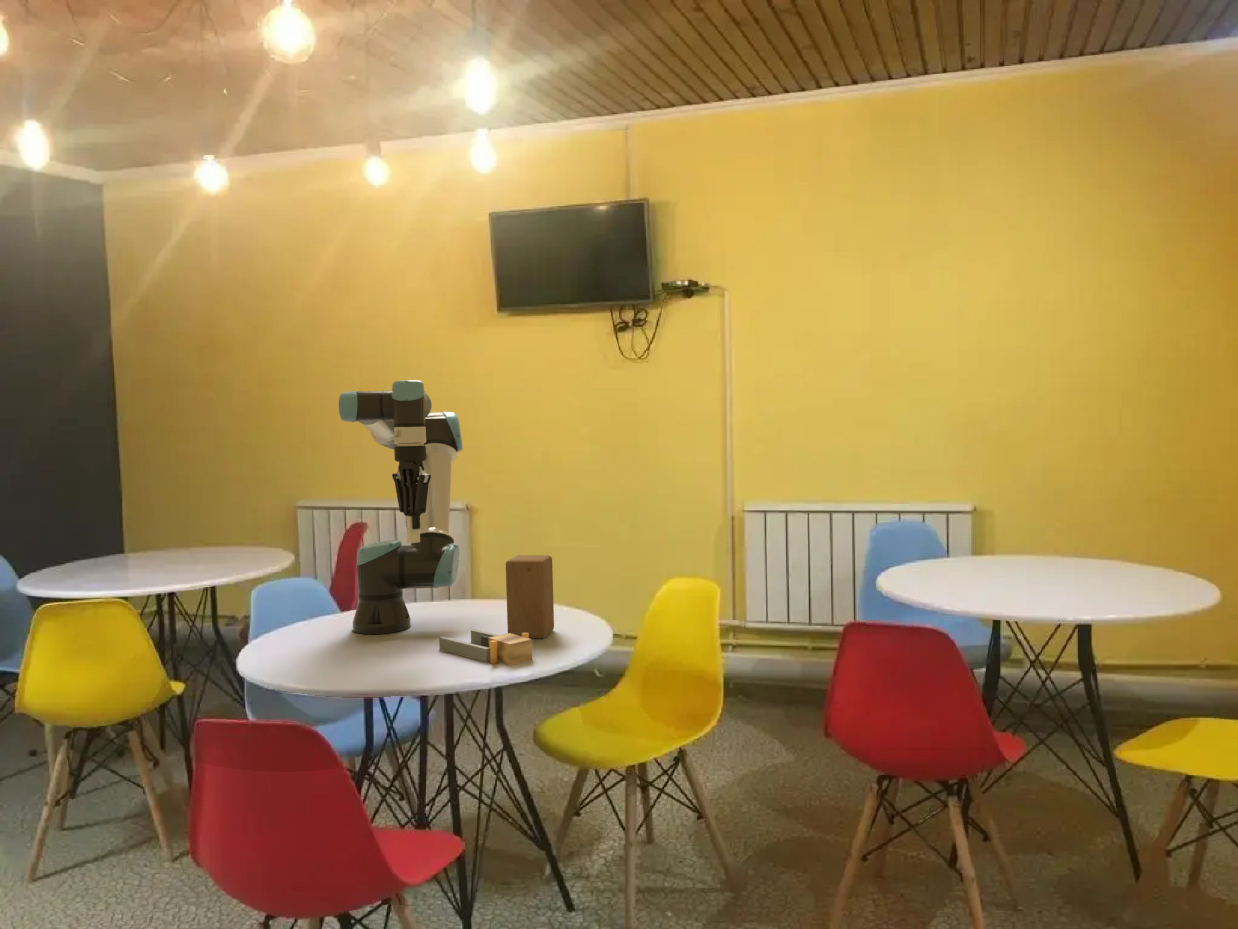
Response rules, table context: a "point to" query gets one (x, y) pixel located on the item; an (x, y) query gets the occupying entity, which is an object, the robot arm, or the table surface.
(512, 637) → the oak block
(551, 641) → the table surface
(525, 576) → the wooden block
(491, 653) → the chute
